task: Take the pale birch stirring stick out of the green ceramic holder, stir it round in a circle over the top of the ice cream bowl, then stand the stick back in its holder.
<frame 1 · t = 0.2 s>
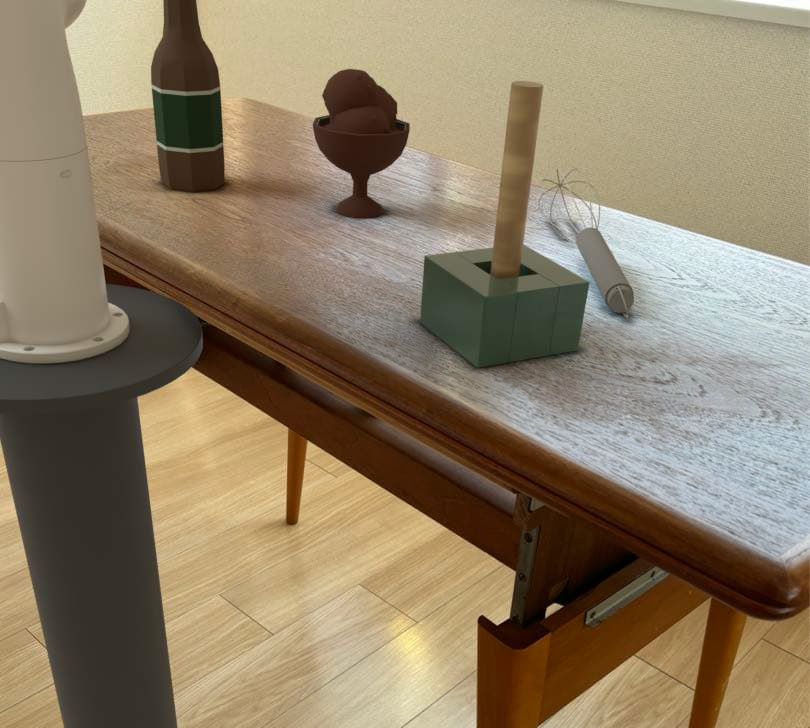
ice cream bowl: (359, 212, 109), on the table
beer bottle: (193, 185, 115), on the table
holder: (497, 336, 81), on the table
stick: (511, 219, 76), in the holder
kitchen whisk: (587, 262, 99), on the table
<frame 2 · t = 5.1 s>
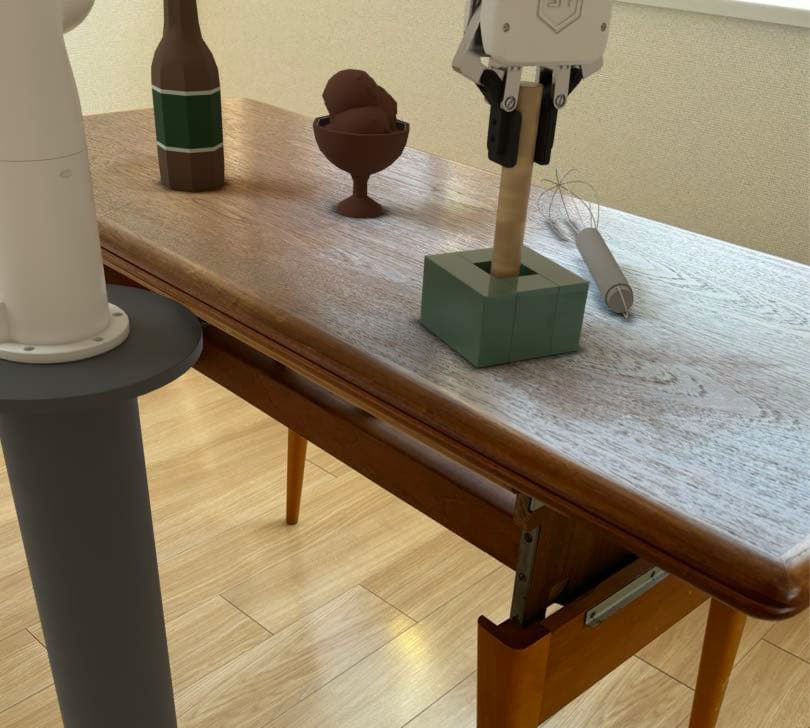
hand: (518, 160, 73), 15 cm above the table, tool pointing down, fingers closed on stick, 2 cm apart
stick: (511, 219, 76), in the holder, touching gripper
everything else where it was.
when the fingers open (15 cm above the table, at t = 22.0 s): stick stays where it is, resting in holder.
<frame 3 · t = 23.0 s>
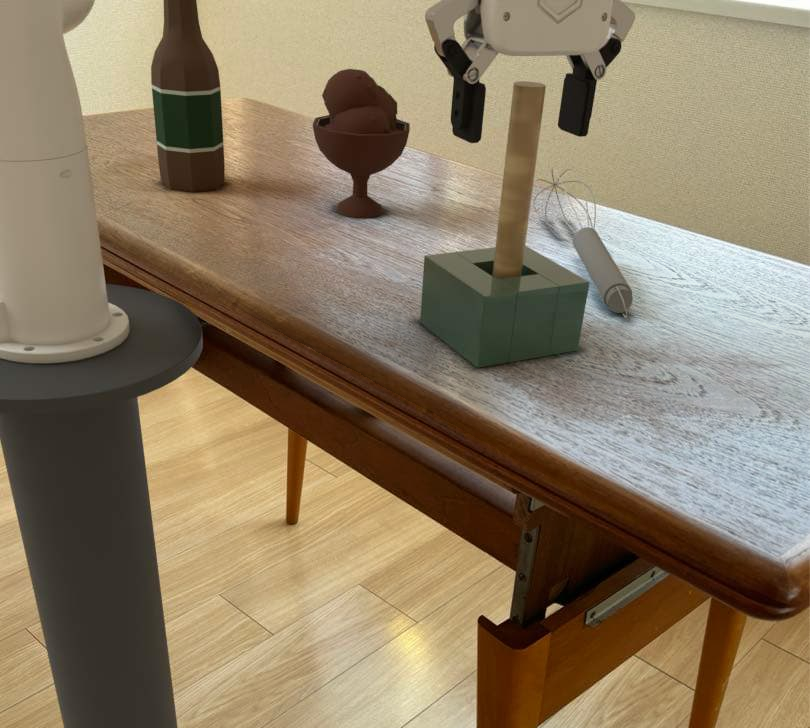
hand: (520, 135, 72), 16 cm above the table, tool pointing down, fingers open, 9 cm apart
stick: (513, 220, 75), in the holder
everything else where it was.
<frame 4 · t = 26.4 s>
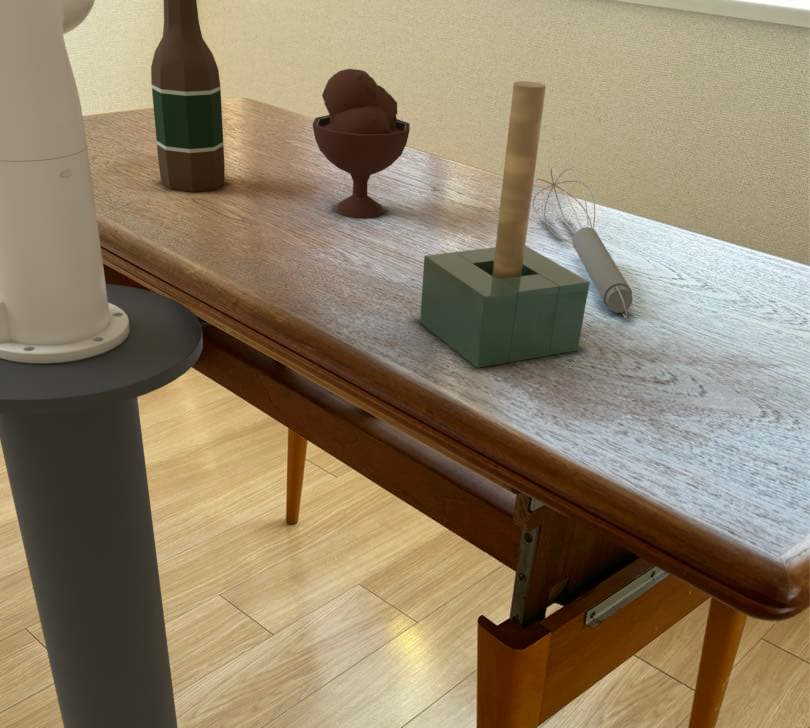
nothing on the table moved.
at the end: stick 0.1 cm off-centre in the holder, point 10.0 cm above the holder's base; stick tilted 0°; ice cream bowl moved 0.2 cm from its start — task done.
